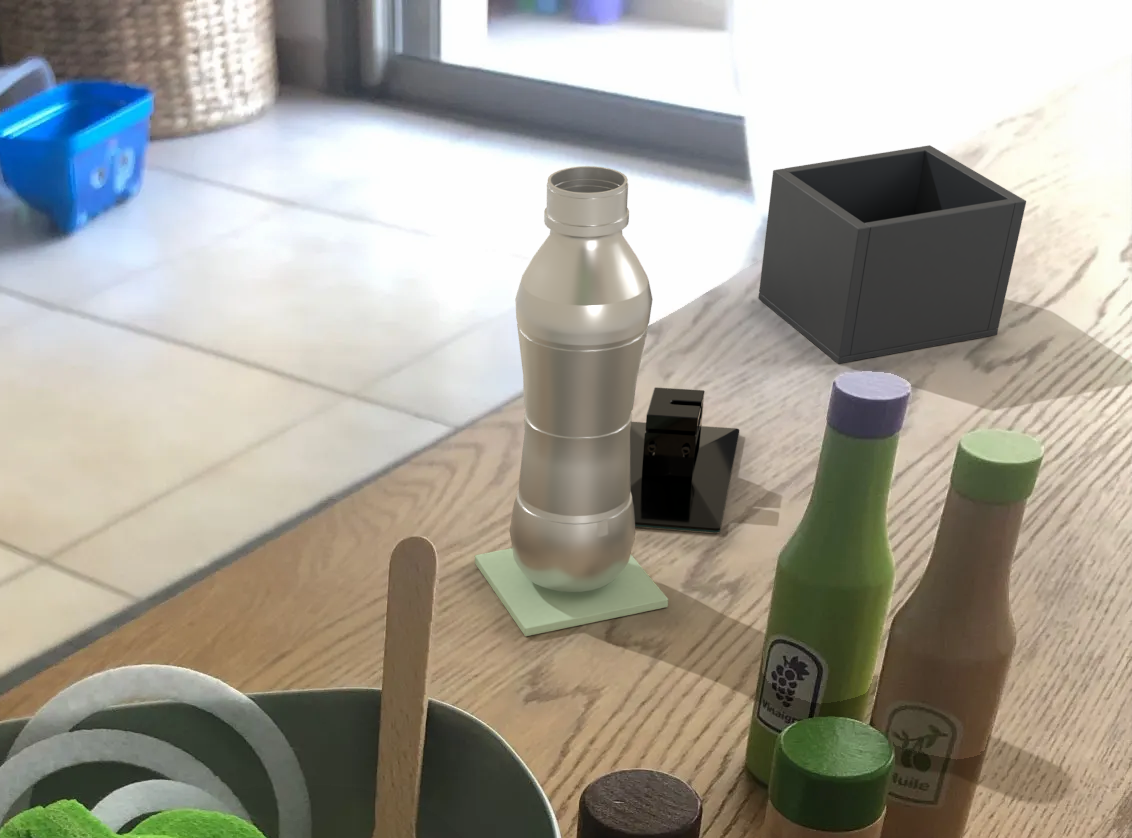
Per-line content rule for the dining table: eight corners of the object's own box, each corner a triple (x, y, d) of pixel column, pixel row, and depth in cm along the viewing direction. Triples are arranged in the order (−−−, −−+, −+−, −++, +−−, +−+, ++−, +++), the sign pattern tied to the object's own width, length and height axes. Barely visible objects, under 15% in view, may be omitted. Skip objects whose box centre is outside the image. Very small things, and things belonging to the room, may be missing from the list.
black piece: (719, 536, 91) (728, 458, 88) (589, 526, 92) (593, 448, 89) (739, 433, 99) (747, 358, 96) (620, 425, 101) (624, 351, 97)
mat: (609, 536, 91) (610, 528, 91) (668, 607, 86) (668, 598, 85) (474, 563, 90) (474, 555, 89) (525, 636, 84) (525, 628, 84)
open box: (907, 272, 116) (930, 144, 110) (997, 334, 108) (1026, 200, 102) (757, 298, 113) (772, 169, 108) (838, 363, 105) (858, 228, 100)
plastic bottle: (569, 532, 91) (585, 145, 77) (658, 577, 87) (692, 179, 73) (483, 574, 88) (483, 180, 74) (571, 623, 84) (589, 217, 70)
